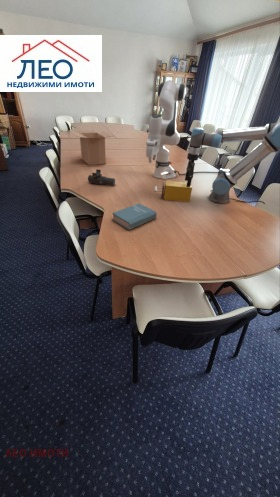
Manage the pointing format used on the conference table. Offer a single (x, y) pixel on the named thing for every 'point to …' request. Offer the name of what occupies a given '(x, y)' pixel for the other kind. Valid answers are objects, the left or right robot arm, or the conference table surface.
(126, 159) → the conference table surface
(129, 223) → the book
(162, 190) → the drawer
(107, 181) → the laser sight
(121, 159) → the conference table surface
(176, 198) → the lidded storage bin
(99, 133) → the box
